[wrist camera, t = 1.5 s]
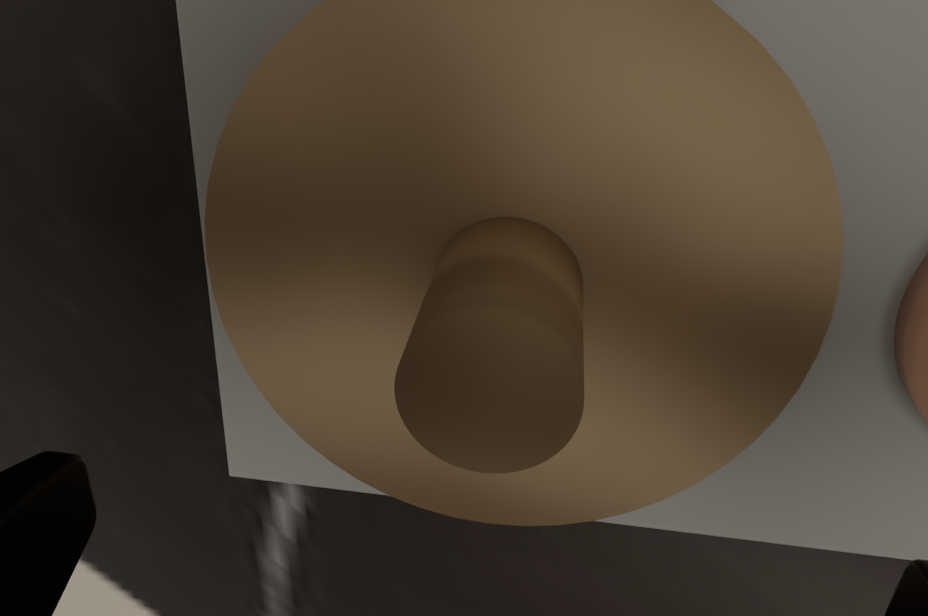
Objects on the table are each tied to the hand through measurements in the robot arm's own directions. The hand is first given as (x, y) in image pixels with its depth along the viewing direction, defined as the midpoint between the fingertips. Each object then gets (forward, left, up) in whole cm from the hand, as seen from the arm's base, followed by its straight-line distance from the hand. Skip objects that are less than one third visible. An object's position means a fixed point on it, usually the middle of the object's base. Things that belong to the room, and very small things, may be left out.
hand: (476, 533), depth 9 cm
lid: (0, 0, -7) cm, 7 cm away
